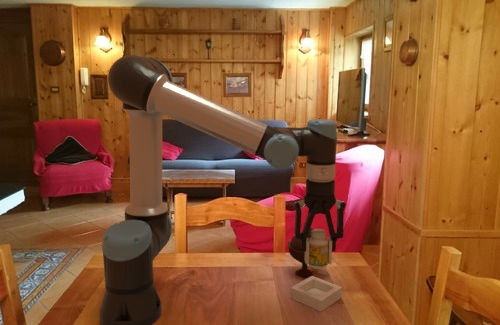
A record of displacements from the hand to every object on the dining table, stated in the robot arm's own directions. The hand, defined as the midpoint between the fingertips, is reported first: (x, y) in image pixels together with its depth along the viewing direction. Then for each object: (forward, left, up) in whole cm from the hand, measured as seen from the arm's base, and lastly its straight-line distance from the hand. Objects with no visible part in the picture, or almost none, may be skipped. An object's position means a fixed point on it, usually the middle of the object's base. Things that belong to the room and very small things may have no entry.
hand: (317, 261), depth 113 cm
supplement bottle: (0, 0, -1) cm, 1 cm away
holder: (0, 0, -11) cm, 11 cm away
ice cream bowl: (-11, +9, -11) cm, 18 cm away
